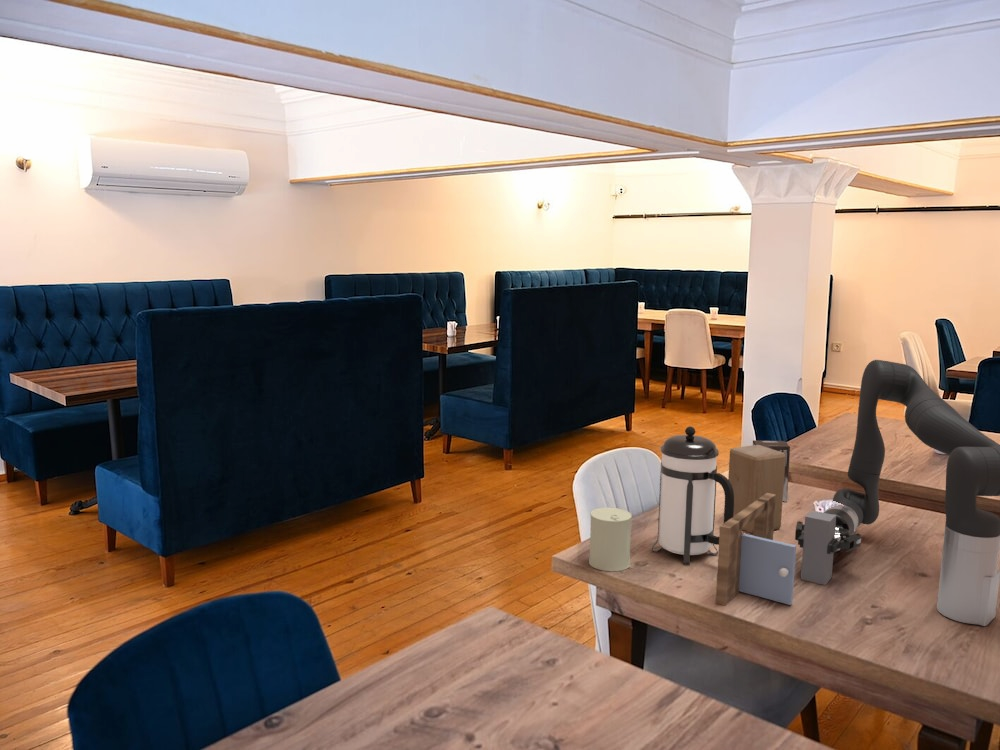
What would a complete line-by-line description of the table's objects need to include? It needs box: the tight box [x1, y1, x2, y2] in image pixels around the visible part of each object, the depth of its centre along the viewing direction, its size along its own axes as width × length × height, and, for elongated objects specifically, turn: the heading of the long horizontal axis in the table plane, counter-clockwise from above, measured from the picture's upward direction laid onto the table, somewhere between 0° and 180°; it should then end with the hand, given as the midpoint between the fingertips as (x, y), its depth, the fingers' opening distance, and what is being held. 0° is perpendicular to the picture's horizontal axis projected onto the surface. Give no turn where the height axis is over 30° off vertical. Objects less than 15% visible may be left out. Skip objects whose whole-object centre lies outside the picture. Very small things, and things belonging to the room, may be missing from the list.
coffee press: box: [651, 426, 734, 565], centre depth 180 cm, size 17×16×30 cm
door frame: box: [715, 493, 776, 606], centre depth 166 cm, size 27×2×16 cm, turn 143°
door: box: [739, 532, 797, 606], centre depth 159 cm, size 12×2×12 cm, turn 53°
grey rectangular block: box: [800, 510, 836, 586], centre depth 169 cm, size 5×5×14 cm
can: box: [588, 507, 633, 573], centre depth 176 cm, size 9×9×12 cm
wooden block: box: [727, 444, 786, 535], centre depth 200 cm, size 10×10×20 cm
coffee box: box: [752, 440, 791, 503], centre depth 223 cm, size 9×6×16 cm
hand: (815, 546), depth 166 cm, fingers closed on grey rectangular block, 5 cm apart
